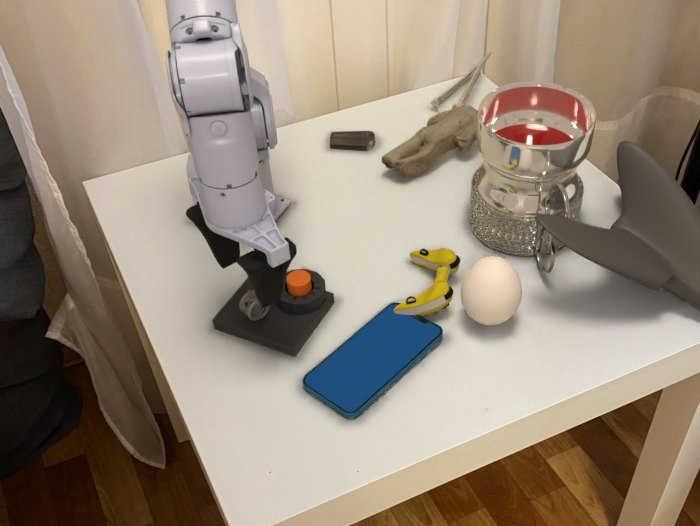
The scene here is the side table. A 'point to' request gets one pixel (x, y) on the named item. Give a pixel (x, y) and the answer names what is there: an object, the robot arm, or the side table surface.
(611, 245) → the propeller
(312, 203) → the side table surface
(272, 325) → the push button box
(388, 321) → the smartphone
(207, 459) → the side table surface
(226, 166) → the robot arm
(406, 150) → the sculpture
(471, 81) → the tweezers
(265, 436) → the side table surface
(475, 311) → the egg
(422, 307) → the yellow curved piece
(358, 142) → the block
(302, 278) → the button
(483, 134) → the silver candle holder
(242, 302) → the decorative ring
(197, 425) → the side table surface
